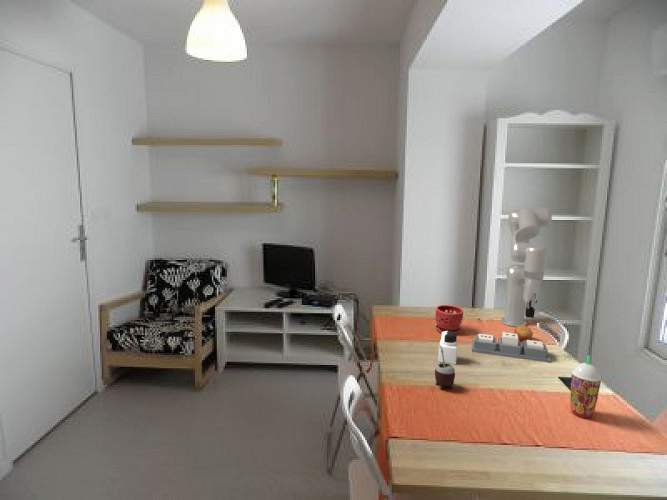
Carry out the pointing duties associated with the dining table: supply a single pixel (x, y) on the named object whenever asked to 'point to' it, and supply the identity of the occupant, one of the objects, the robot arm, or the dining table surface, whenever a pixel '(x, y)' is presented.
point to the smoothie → (584, 389)
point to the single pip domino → (534, 344)
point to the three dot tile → (485, 338)
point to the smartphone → (566, 381)
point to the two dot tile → (510, 339)
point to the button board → (510, 350)
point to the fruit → (523, 333)
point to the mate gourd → (444, 374)
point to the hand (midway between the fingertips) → (529, 316)
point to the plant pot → (448, 318)
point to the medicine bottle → (448, 347)
